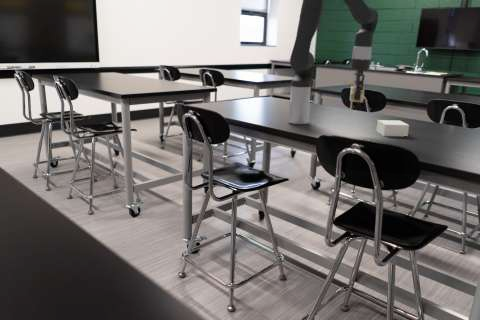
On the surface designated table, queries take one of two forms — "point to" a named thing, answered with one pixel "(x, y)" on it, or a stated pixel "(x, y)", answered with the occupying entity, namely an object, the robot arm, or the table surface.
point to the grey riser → (392, 128)
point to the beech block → (352, 94)
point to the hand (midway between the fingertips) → (356, 98)
